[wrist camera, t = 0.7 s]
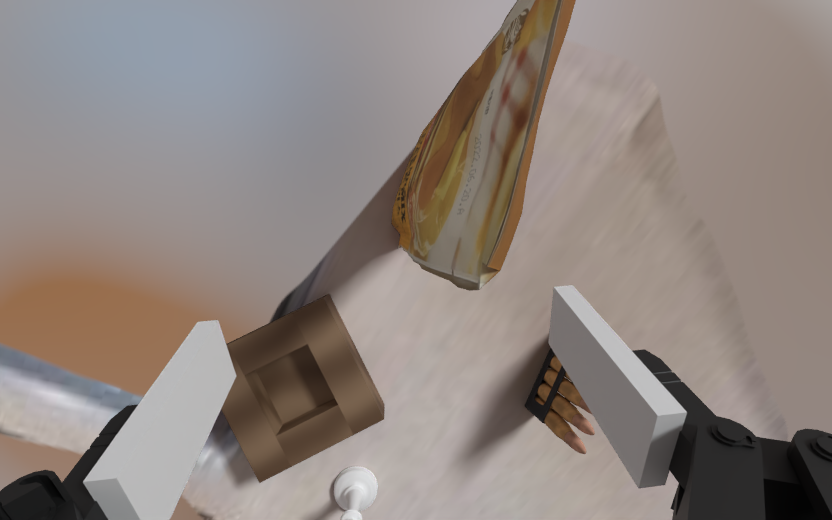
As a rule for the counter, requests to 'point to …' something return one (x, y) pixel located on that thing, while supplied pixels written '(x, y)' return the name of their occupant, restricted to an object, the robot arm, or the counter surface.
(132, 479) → the robot arm
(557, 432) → the ammunition clip
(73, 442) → the counter surface
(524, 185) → the pancake mix bag
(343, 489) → the chess piece
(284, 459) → the socket block
